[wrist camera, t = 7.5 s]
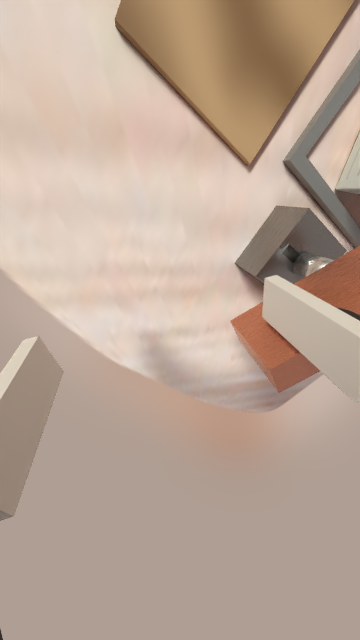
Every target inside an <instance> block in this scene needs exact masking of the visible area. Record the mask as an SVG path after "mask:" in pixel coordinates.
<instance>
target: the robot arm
mask: <svg viewBox="0 0 360 640" xmlns="http://www.w3.org/2000/svg"><path fill="white" fill-rule="evenodd" d="M262 317H263V318H264V319H265V320H266V321H267V322H268V323H269V324H270V325H271V326H272V327H273V328H275V329H276V330H277V331H278V332H279V333H280V334H281V335H282V336H283V337H284V338H285V339H286V340H288V341H289V342H290V343H291V344H292V345H293V346H294V347H295V348H296V349H297V350H298V351H299V352H301V353H302V354H303V355H304V356H305V357H306V358H307V359H308V360H309V361H310V362H311V363H312V364H314V365H315V366H316V367H317V368H318V369H319V370H320V371H321V372H322V373H323V374H324V375H326V376H327V377H328V378H329V379H330V380H331V381H332V382H333V383H334V384H335V385H336V386H337V387H338V388H340V389H341V390H342V391H343V392H344V393H345V394H346V395H347V396H348V397H349V398H350V399H351V400H353V401H354V402H355V403H356V402H359V401H360V315H358V314H356V313H354V312H352V311H349V310H346V309H342V308H336V307H334V306H332V305H330V304H328V303H327V302H325V301H323V300H321V299H319V298H318V297H316V296H314V295H312V294H310V293H308V292H307V291H305V290H303V289H301V288H299V287H298V286H296V285H294V284H292V283H290V282H289V281H287V280H285V279H283V278H281V277H280V276H278V275H274V276H270V277H266V278H265V280H264V294H263V308H262ZM63 372H64V371H63V370H62V368H61V367H60V365H59V364H58V363H57V361H56V360H55V358H54V357H53V356H52V354H51V353H50V351H49V350H48V349H47V347H46V346H45V344H44V343H43V342H42V340H41V339H40V337H39V336H37V337H33V338H29V339H25V340H23V342H22V343H21V345H20V346H19V347H18V349H17V350H16V352H15V353H14V355H13V356H12V357H11V359H10V360H9V362H8V363H7V365H6V366H5V368H4V369H3V371H2V372H1V374H0V521H1V520H4V519H7V518H10V517H13V516H14V514H15V511H16V508H17V506H18V503H19V500H20V497H21V494H22V491H23V488H24V485H25V482H26V479H27V477H28V474H29V471H30V468H31V465H32V462H33V459H34V456H35V453H36V450H37V447H38V445H39V442H40V439H41V436H42V433H43V430H44V427H45V424H46V422H47V419H48V416H49V413H50V410H51V407H52V404H53V401H54V398H55V395H56V393H57V390H58V387H59V384H60V381H61V378H62V375H63ZM0 640H3V638H2V634H1V630H0Z"/></svg>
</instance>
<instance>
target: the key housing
mask: <svg viewBox="0 0 360 640" xmlns="http://www.w3.org/2000/svg"><path fill="white" fill-rule="evenodd" d="M305 252H311V253H314V254H317V255H320V256H323V257H326V258H329V259H333V260H336V259H338V258H339V257H341V256H342V255H343V254H344V253H345V252H346V250H345V248H344V247H343V246H342V245H341V244H340V243H339V242H338V240H337V239H336V238H335V237H334V236H333V235H332V234H331V232H330V231H329V230H328V229H327V228H326V227H325V226H324V224H323V223H322V222H321V221H320V220H319V219H318V218H317V216H316V215H315V214H314V213H313V212H312V211H311V210H310V208H300V207H287V206H276V207H275V209H274V210H273V212H272V213H271V214H270V216H269V217H268V218H267V220H266V221H265V223H264V224H263V225H262V227H261V228H260V229H259V231H258V232H257V234H256V235H255V236H254V238H253V239H252V240H251V242H250V243H249V245H248V246H247V247H246V249H245V250H244V251H243V253H242V254H241V256H240V257H239V258H238V260H237V261H236V262H235V264H237V265H238V266H239V267H241V268H242V269H244V270H245V271H246V272H248V273H249V274H251V275H252V276H253V277H255V278H256V279H258V280H259V281H260V282H262V283H263V284H264V280H265V278H266V277H270V276H274V275H278V276H280V277H281V278H283V279H285V280H287V281H289V282H290V283H292V284H295V283H296V282H298V281H300V280H301V279H303V278H301V277H299V276H297V275H295V274H294V272H293V264H294V262H295V260H296V258H297V257H298V256H299V255H301V254H302V253H305Z"/></svg>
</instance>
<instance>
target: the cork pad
mask: <svg viewBox="0 0 360 640" xmlns="http://www.w3.org/2000/svg"><path fill="white" fill-rule="evenodd" d="M353 2H354V0H121V2H120V5H119V8H118V11H117V14H116V17H115V26H116V28H117V29H118V30H119V31H120V32H121V33H122V34H123V35H124V36H125V37H126V38H127V39H128V40H129V41H130V42H131V43H132V44H133V45H134V46H135V48H136V49H137V50H138V51H139V52H140V53H141V54H142V55H143V56H144V57H145V58H146V59H147V60H148V61H149V62H150V63H151V64H152V65H153V67H154V68H155V69H156V70H157V71H158V72H159V73H160V74H161V75H162V76H163V77H164V78H165V79H166V80H167V81H168V82H169V83H170V84H171V85H172V87H173V88H174V89H175V90H176V91H177V92H178V93H179V94H180V95H181V96H182V97H183V98H184V99H185V100H186V101H187V102H188V103H189V104H190V105H191V107H192V108H193V109H194V110H195V111H196V112H197V113H198V114H199V115H200V116H201V117H202V118H203V119H204V120H205V121H206V122H207V123H208V124H209V125H210V127H211V128H212V129H213V130H214V131H215V132H216V133H217V134H218V135H219V136H220V137H221V138H222V139H223V140H224V141H225V142H226V143H227V144H228V146H229V147H230V148H231V149H232V150H233V151H234V152H235V153H236V154H237V155H238V156H239V157H240V158H241V159H242V160H243V161H244V162H245V163H246V164H251V162H252V161H253V159H254V157H255V156H256V154H257V153H258V151H259V150H260V148H261V146H262V145H263V143H264V142H265V140H266V139H267V137H268V135H269V134H270V132H271V131H272V129H273V128H274V126H275V124H276V123H277V121H278V120H279V118H280V117H281V115H282V113H283V112H284V110H285V109H286V107H287V106H288V104H289V102H290V101H291V99H292V98H293V96H294V95H295V93H296V91H297V90H298V88H299V87H300V85H301V84H302V82H303V80H304V79H305V77H306V76H307V74H308V73H309V71H310V69H311V68H312V66H313V65H314V63H315V62H316V60H317V58H318V57H319V55H320V54H321V52H322V51H323V49H324V47H325V46H326V44H327V43H328V41H329V40H330V38H331V36H332V35H333V33H334V32H335V30H336V29H337V27H338V25H339V24H340V22H341V21H342V19H343V18H344V16H345V14H346V13H347V11H348V10H349V8H350V7H351V5H352V3H353Z"/></svg>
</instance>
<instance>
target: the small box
mask: <svg viewBox="0 0 360 640" xmlns="http://www.w3.org/2000/svg"><path fill="white" fill-rule="evenodd" d="M336 190H339V191H344V192H349V193H354V194H359V195H360V132H359V134H358V137H357V139H356V142H355V144H354V146H353V149H352V151H351V154H350V156H349V158H348V161H347V163H346V165H345V168H344V170H343V173H342V175H341V177H340V180H339V182H338V184H337V187H336Z"/></svg>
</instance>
